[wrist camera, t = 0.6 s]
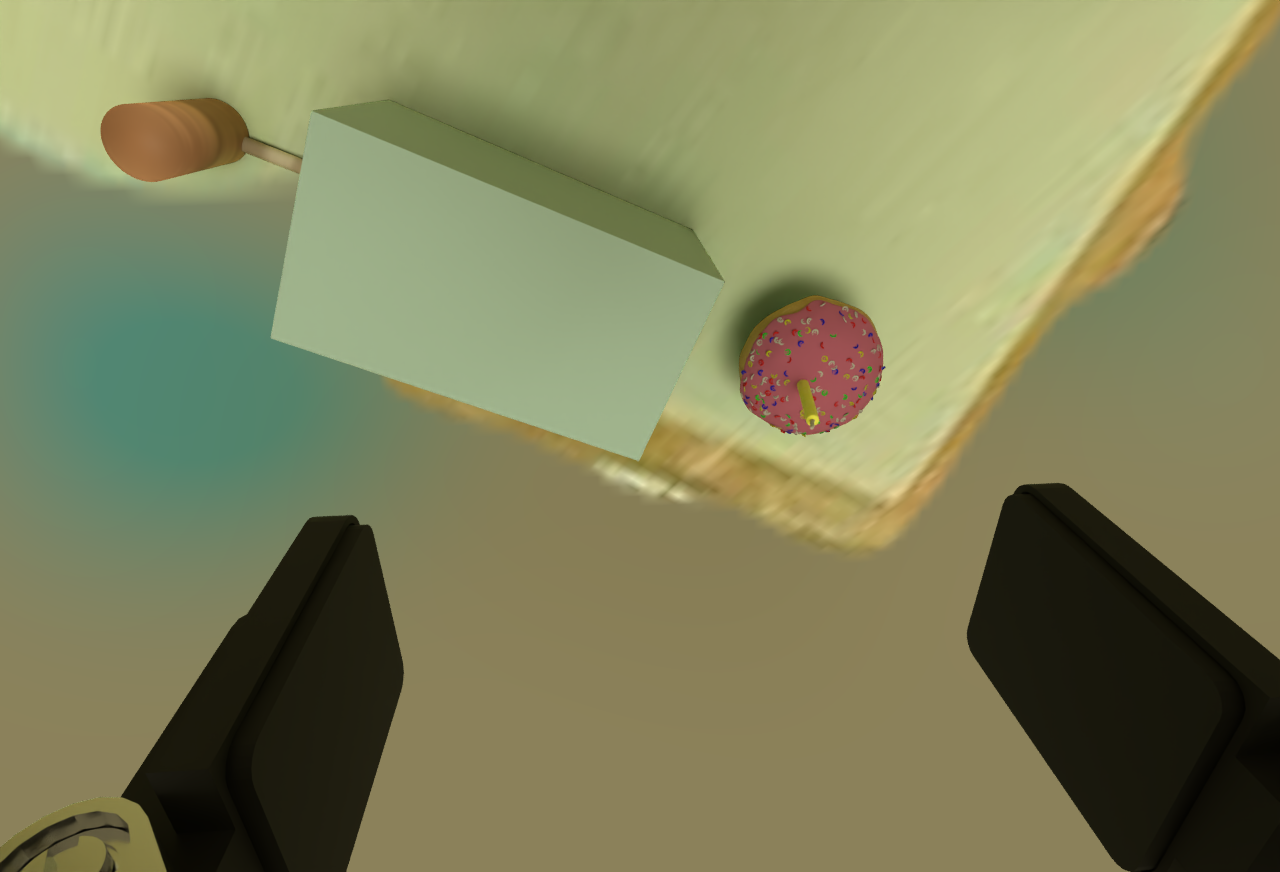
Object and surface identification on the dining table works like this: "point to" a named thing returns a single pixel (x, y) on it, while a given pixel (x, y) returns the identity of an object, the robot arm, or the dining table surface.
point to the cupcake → (811, 366)
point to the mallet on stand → (181, 139)
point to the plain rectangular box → (488, 277)
